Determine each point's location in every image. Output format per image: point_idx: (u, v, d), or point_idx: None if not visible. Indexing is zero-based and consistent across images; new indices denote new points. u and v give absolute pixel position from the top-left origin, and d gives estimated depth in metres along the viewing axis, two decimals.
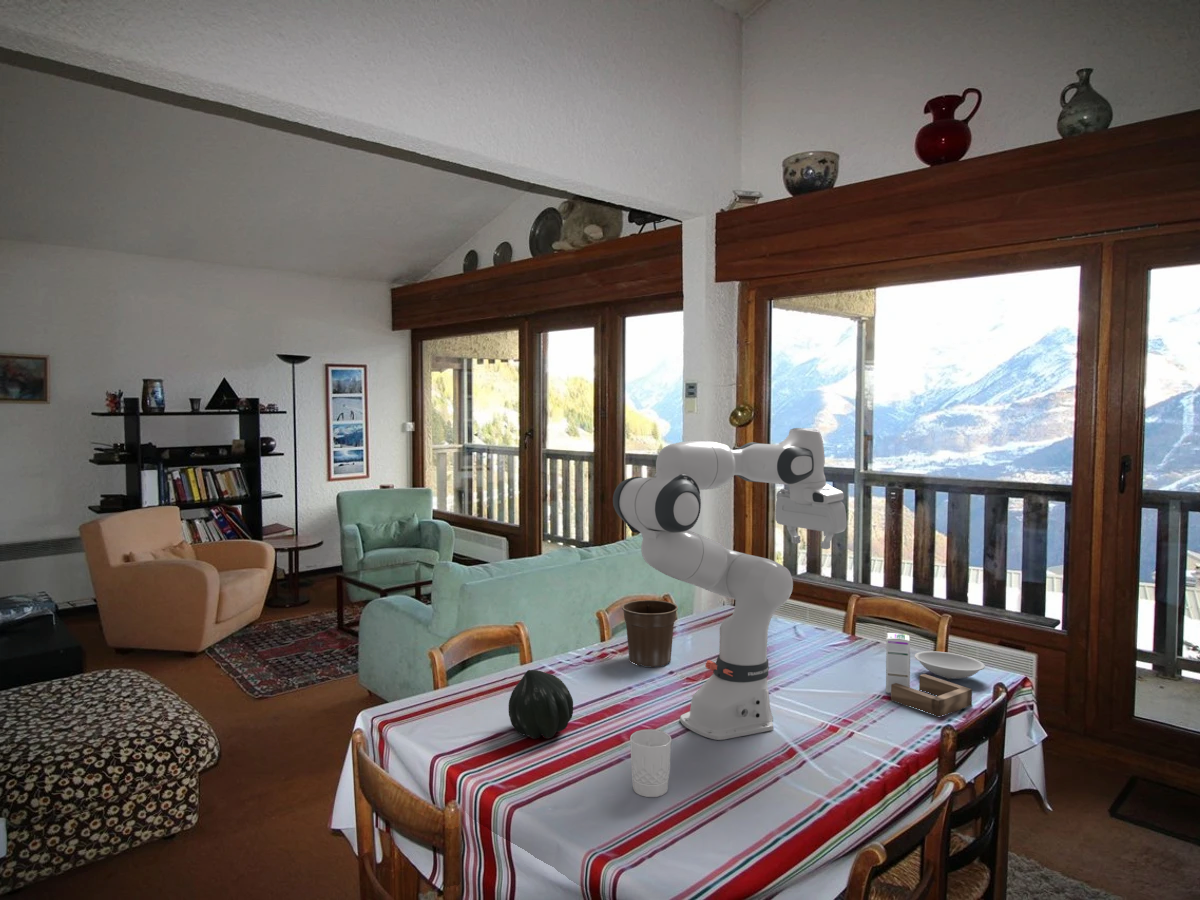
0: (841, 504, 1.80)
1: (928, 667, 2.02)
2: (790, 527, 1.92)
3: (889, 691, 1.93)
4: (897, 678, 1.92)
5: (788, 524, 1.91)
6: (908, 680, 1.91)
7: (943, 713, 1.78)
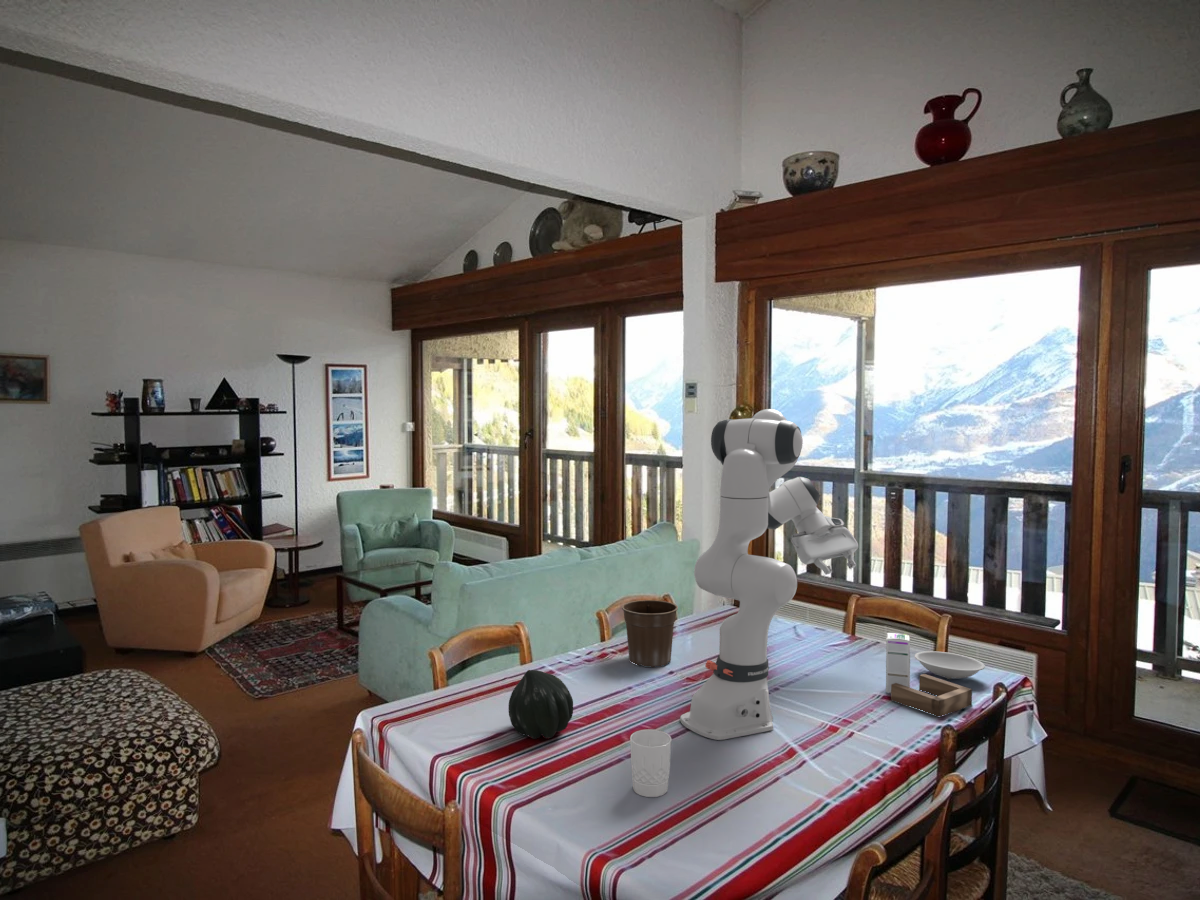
0: None
1: (928, 667, 2.02)
2: (821, 558, 2.07)
3: (889, 691, 1.93)
4: (897, 678, 1.92)
5: (820, 554, 2.07)
6: (908, 680, 1.91)
7: (943, 713, 1.78)
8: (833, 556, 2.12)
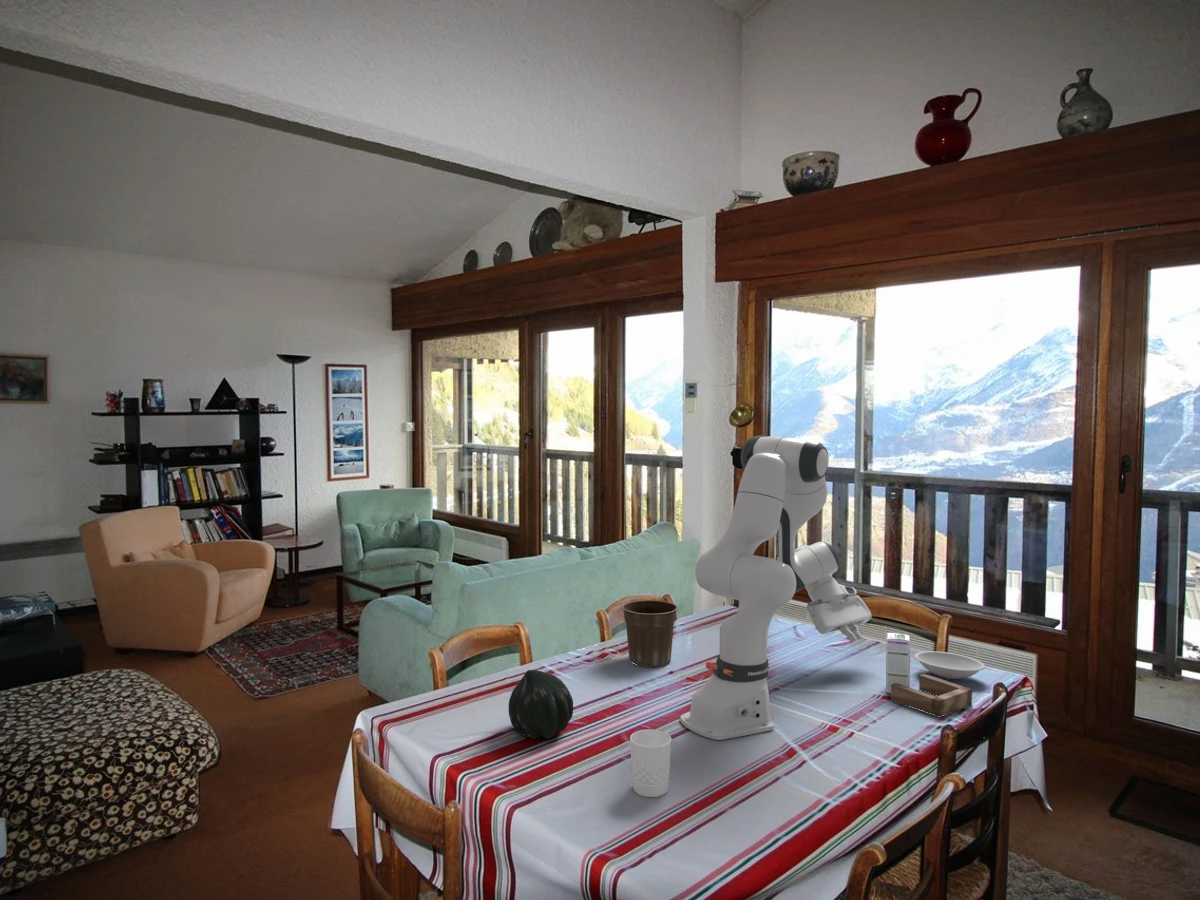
0: None
1: (928, 667, 2.02)
2: (847, 626, 2.06)
3: (889, 691, 1.93)
4: (897, 678, 1.92)
5: (837, 624, 2.04)
6: (908, 680, 1.91)
7: (943, 713, 1.78)
8: (847, 625, 2.09)
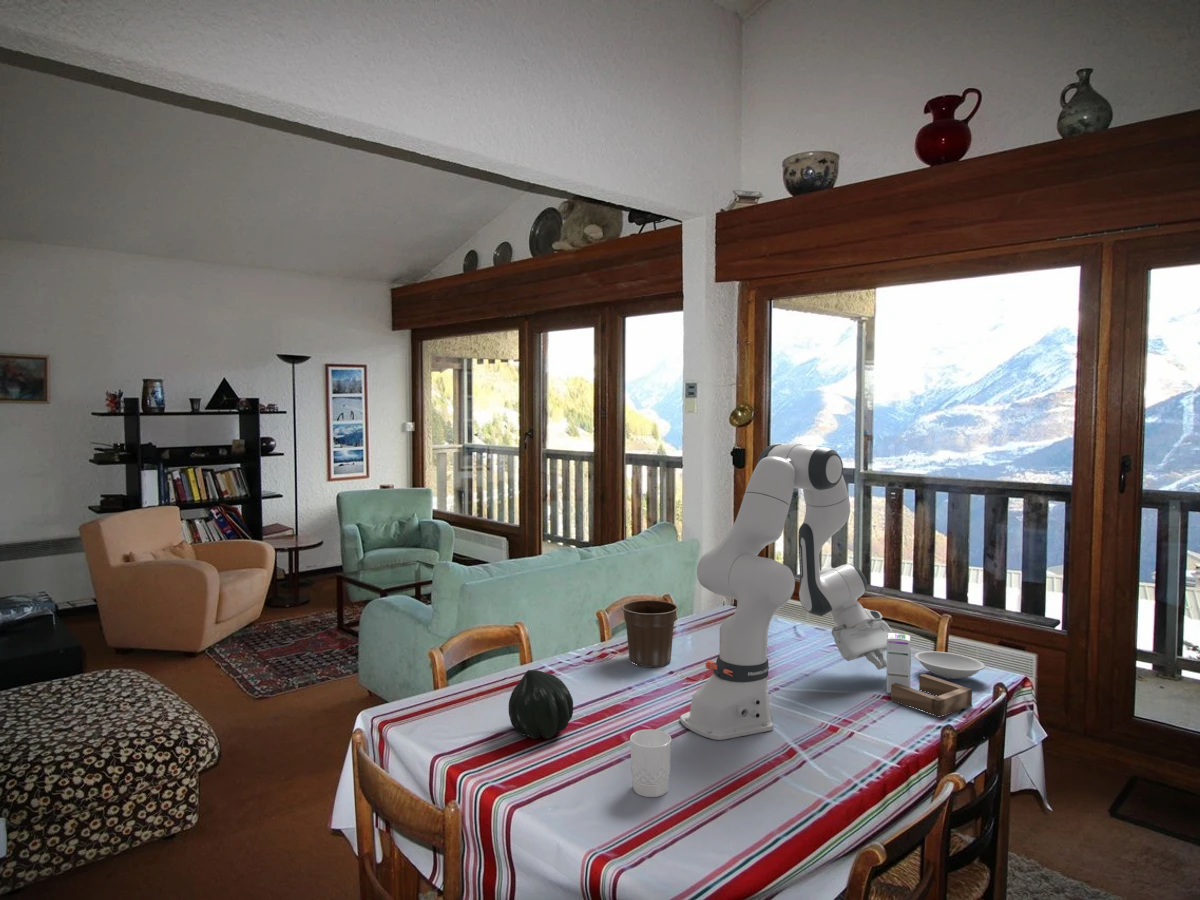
0: None
1: (928, 667, 2.02)
2: (873, 652, 1.99)
3: (889, 691, 1.93)
4: (898, 678, 1.92)
5: (863, 651, 1.97)
6: (908, 680, 1.91)
7: (943, 713, 1.78)
8: (873, 652, 2.02)
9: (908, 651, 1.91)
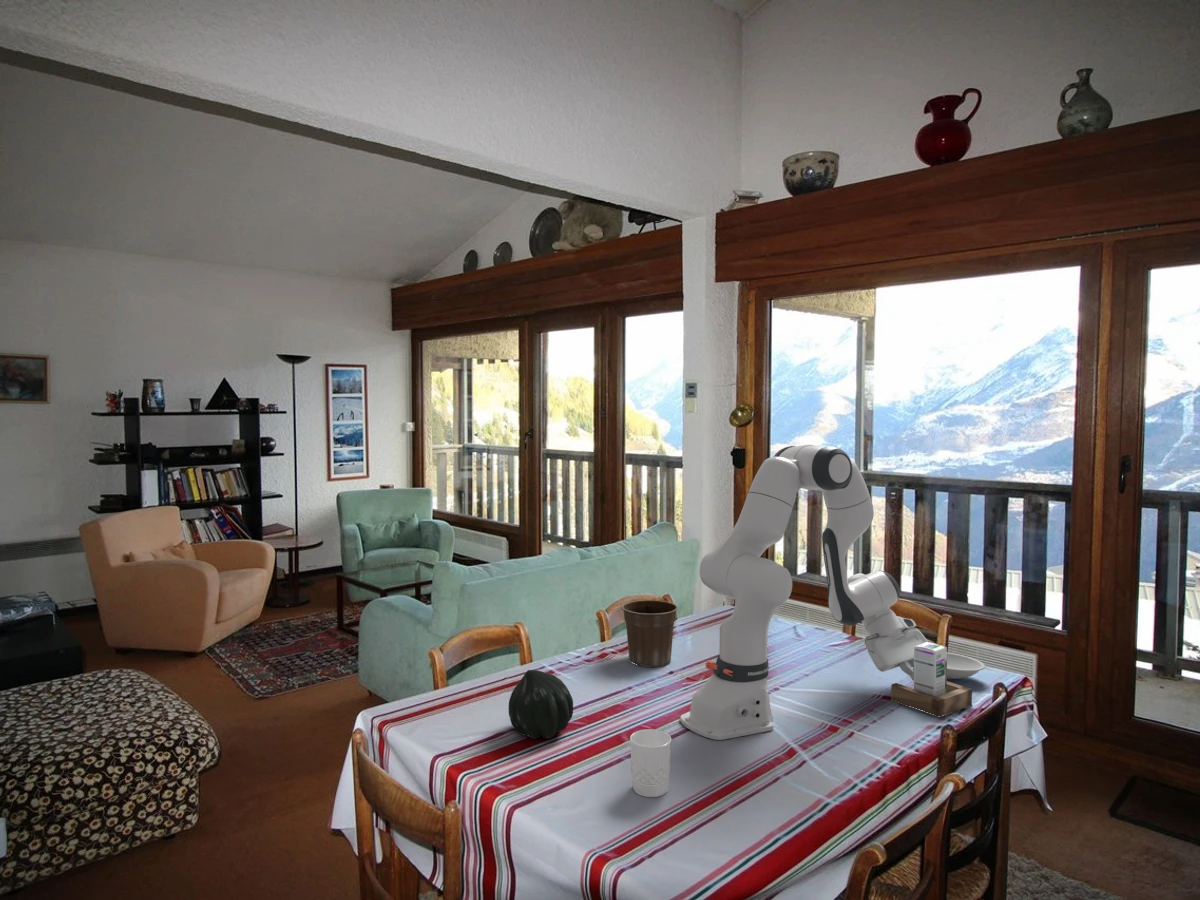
0: None
1: None
2: (908, 663, 1.90)
3: None
4: (924, 689, 1.84)
5: (898, 661, 1.88)
6: (934, 692, 1.83)
7: (943, 713, 1.78)
8: (907, 662, 1.94)
9: (933, 662, 1.82)
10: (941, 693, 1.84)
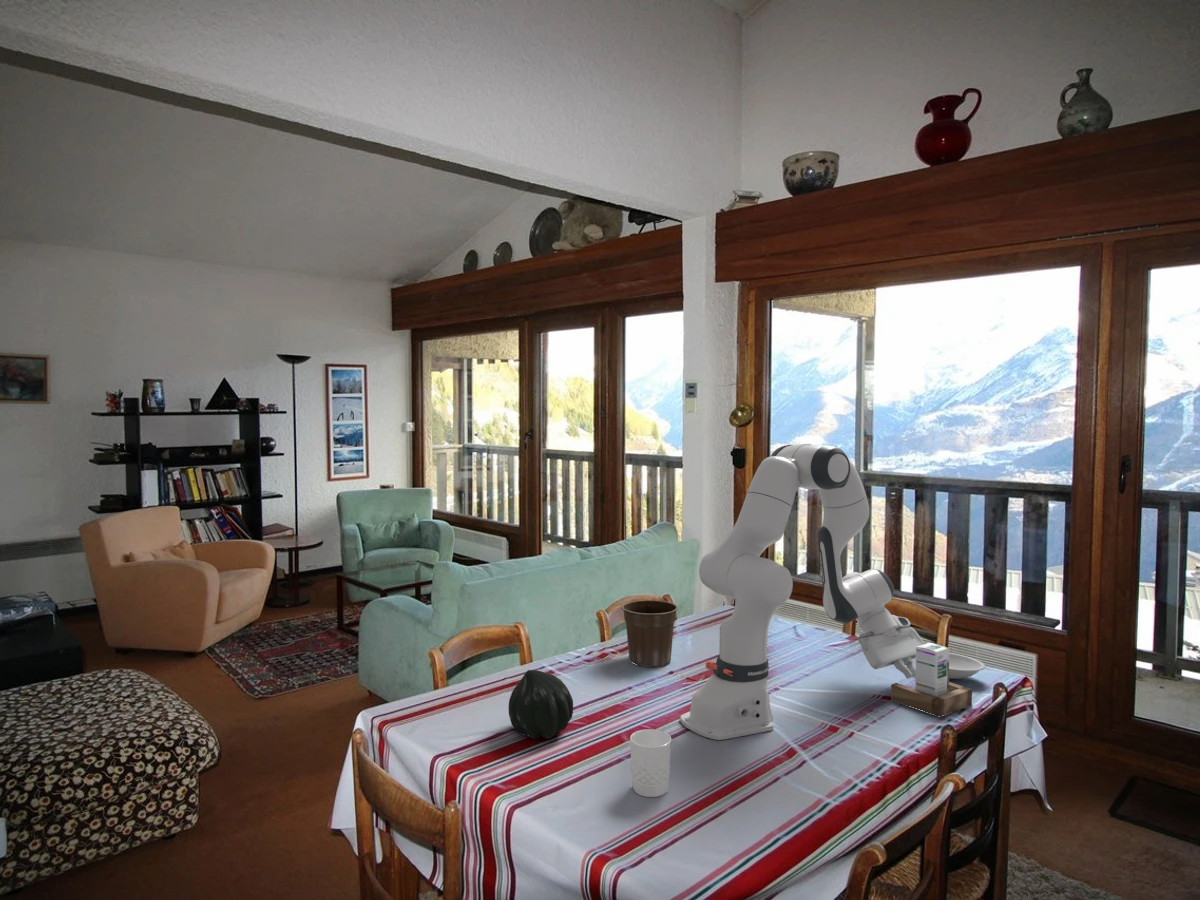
0: None
1: None
2: (902, 661, 1.91)
3: None
4: (925, 690, 1.84)
5: (892, 659, 1.89)
6: (935, 693, 1.82)
7: (943, 713, 1.78)
8: (901, 660, 1.95)
9: (935, 662, 1.82)
10: None
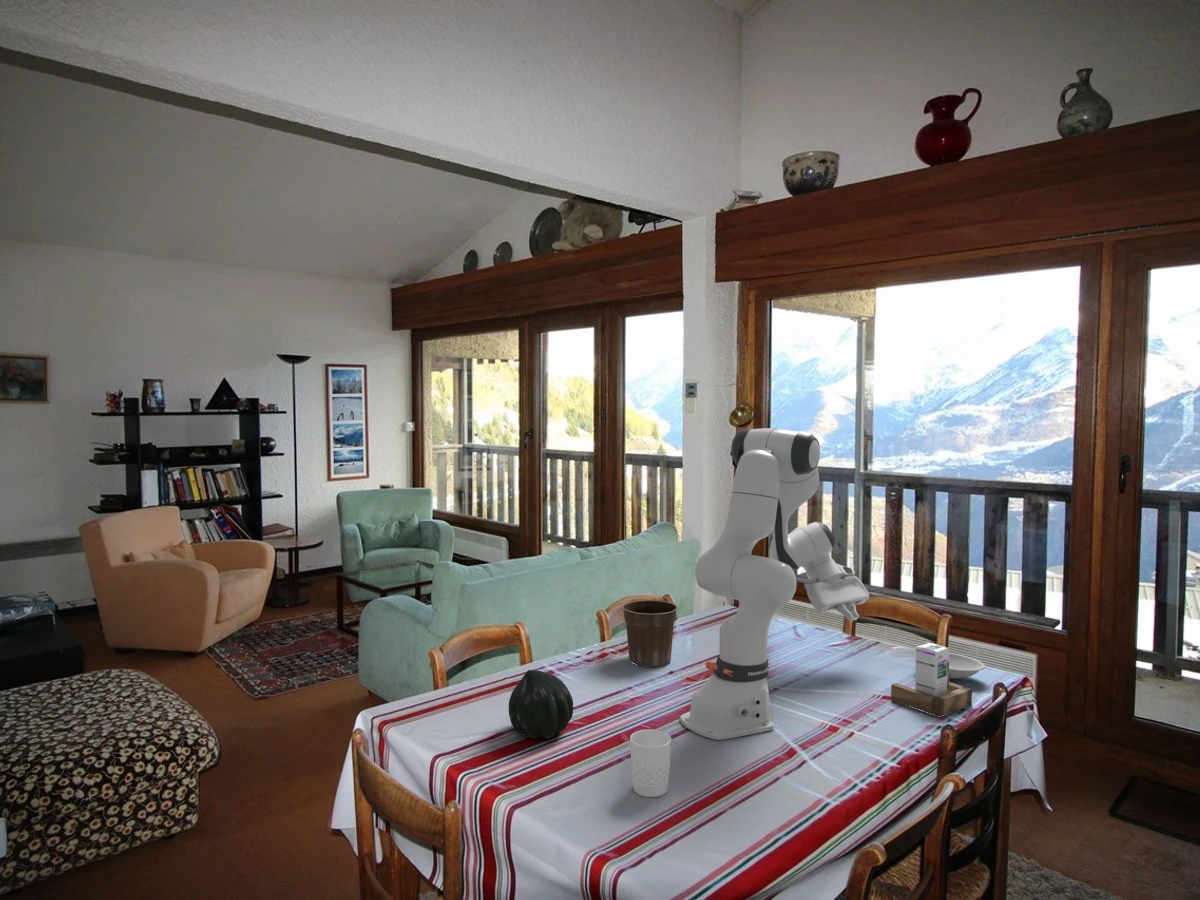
0: None
1: None
2: (844, 605, 2.06)
3: None
4: (925, 690, 1.84)
5: (834, 602, 2.04)
6: (935, 693, 1.82)
7: (943, 713, 1.78)
8: (845, 605, 2.10)
9: (935, 662, 1.82)
10: None
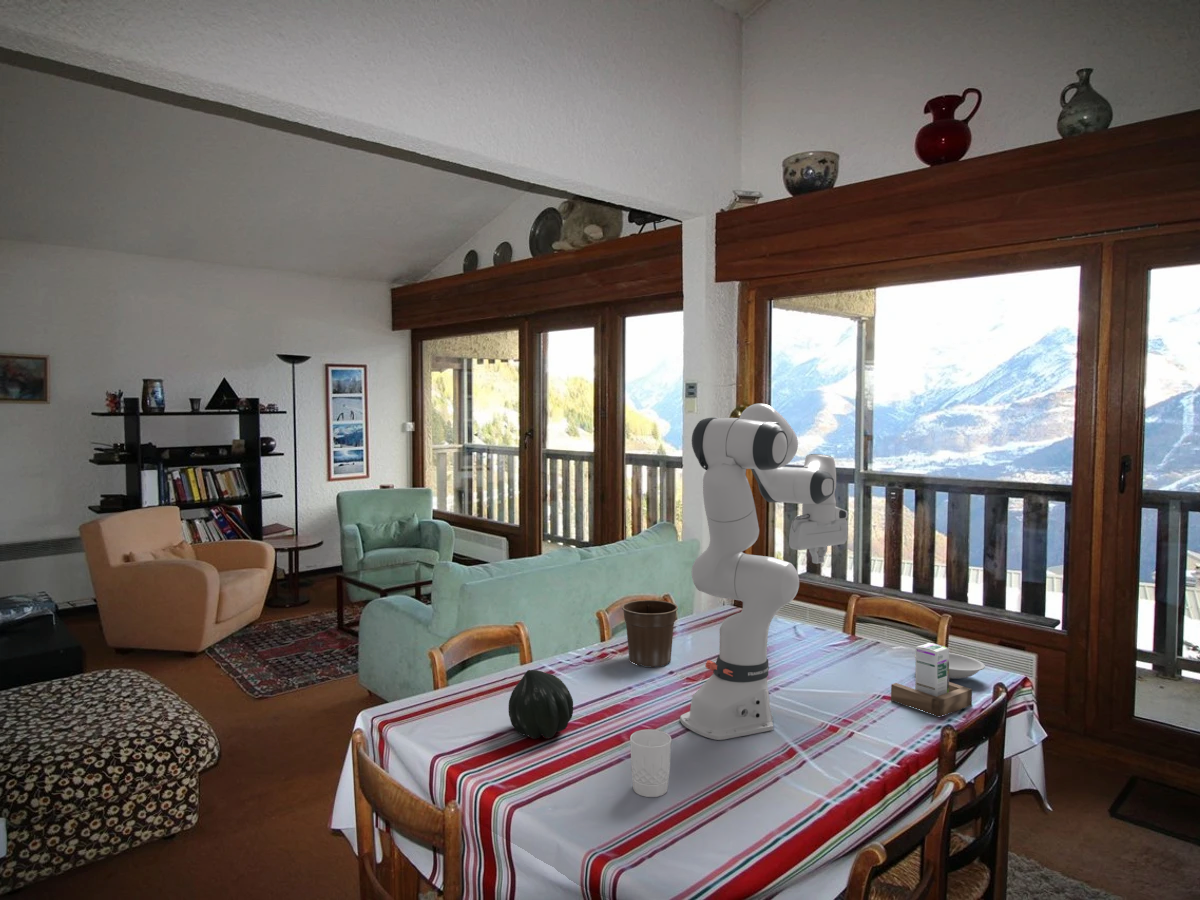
0: None
1: None
2: (817, 548, 2.03)
3: None
4: (925, 690, 1.84)
5: (809, 547, 2.01)
6: (935, 693, 1.82)
7: (943, 713, 1.78)
8: None
9: (935, 662, 1.82)
10: None
